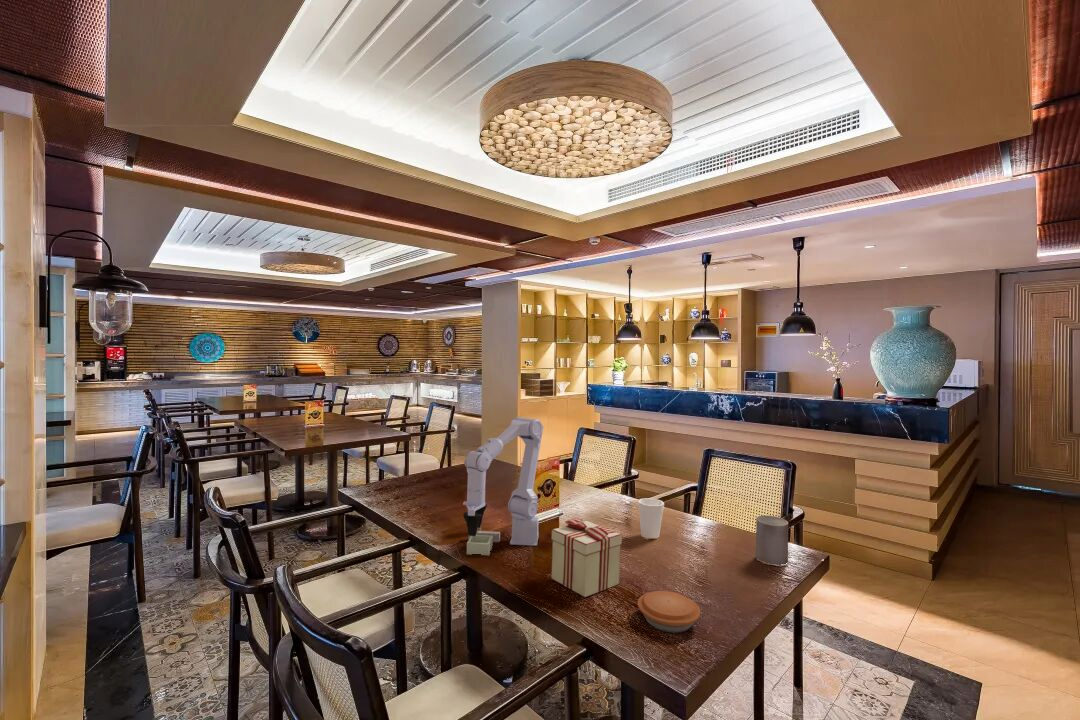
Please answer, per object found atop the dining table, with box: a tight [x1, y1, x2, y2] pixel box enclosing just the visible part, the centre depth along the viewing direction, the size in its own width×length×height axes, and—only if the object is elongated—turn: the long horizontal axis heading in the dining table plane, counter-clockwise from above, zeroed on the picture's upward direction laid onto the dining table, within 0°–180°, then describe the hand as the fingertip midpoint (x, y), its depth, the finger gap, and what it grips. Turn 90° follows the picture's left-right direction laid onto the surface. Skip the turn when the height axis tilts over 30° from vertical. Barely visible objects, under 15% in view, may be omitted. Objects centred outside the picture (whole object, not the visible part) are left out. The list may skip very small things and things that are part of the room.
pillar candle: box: [755, 515, 789, 565], centre depth 160 cm, size 10×10×15 cm
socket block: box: [466, 535, 494, 556], centre depth 163 cm, size 8×8×4 cm
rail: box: [468, 530, 501, 543], centre depth 171 cm, size 11×2×3 cm, turn 87°
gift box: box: [551, 517, 623, 598], centre depth 143 cm, size 17×18×17 cm
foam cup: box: [637, 497, 665, 538], centre depth 179 cm, size 10×9×13 cm
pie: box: [636, 590, 701, 633], centre depth 122 cm, size 16×16×5 cm
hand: (474, 531), depth 154 cm, fingers open, 7 cm apart
